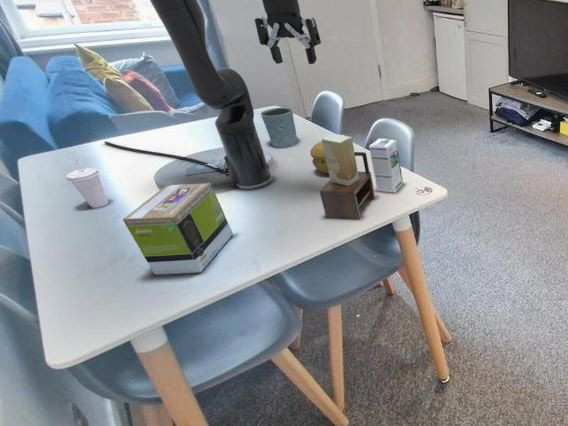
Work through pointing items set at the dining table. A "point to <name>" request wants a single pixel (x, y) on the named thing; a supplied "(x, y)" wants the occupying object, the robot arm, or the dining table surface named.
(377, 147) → the syrup box
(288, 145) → the blue-grey planter
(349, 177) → the cosmetic box
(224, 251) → the dining table surface
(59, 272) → the dining table surface
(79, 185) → the smoothie
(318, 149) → the pot
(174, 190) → the tea box
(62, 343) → the dining table surface
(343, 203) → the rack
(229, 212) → the dining table surface
